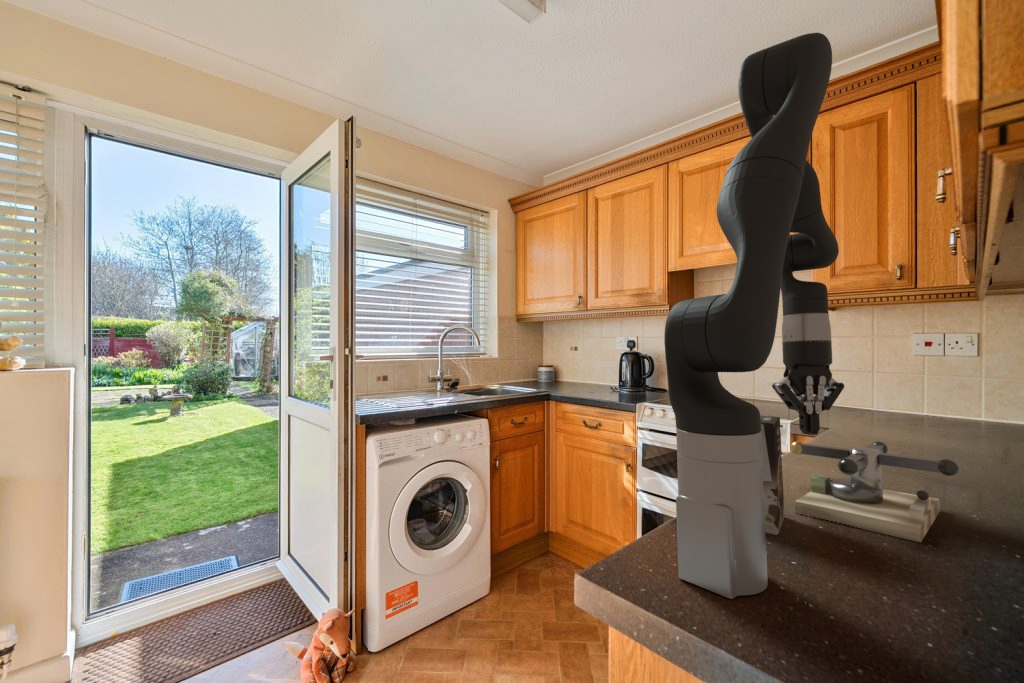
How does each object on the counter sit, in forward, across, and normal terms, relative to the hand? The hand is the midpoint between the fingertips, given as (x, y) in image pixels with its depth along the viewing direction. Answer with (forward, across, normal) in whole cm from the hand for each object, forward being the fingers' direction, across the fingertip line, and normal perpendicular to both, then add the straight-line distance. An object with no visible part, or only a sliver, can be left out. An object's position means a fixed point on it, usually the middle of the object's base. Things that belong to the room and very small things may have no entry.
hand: (809, 434), depth 79 cm
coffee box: (+12, -17, -9) cm, 23 cm away
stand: (+11, +3, -8) cm, 14 cm away
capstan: (+9, +3, -8) cm, 12 cm away
